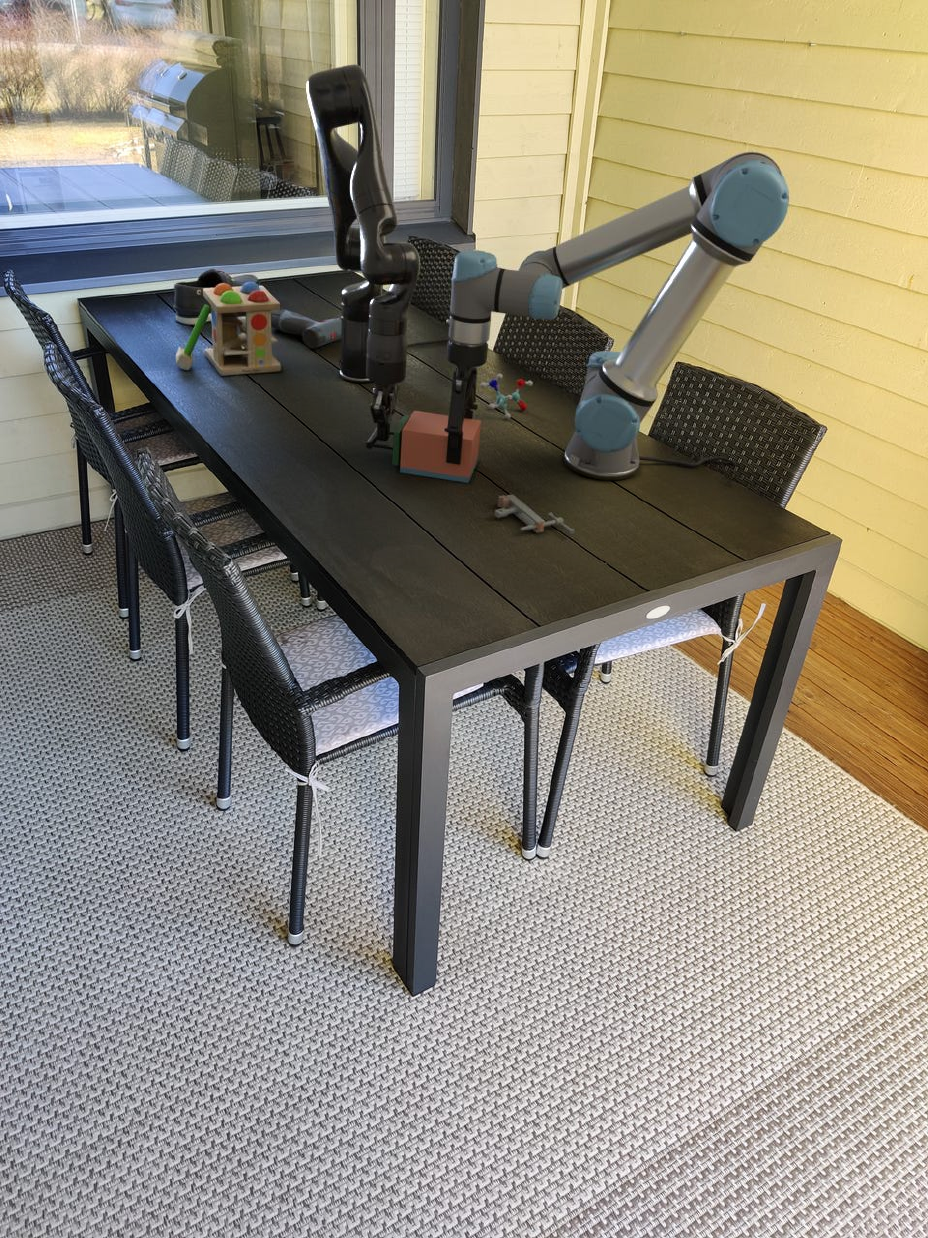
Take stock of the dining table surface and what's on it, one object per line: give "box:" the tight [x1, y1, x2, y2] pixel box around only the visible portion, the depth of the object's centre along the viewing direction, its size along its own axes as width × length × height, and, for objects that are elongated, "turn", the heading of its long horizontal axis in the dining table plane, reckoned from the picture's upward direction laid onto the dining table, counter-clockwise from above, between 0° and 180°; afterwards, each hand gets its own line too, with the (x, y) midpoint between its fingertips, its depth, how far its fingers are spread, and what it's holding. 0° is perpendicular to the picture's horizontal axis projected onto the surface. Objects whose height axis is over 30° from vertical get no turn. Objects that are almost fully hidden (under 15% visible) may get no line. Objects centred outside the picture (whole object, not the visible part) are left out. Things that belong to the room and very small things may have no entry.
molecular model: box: [480, 373, 533, 420], centre depth 219 cm, size 12×10×10 cm
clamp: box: [494, 494, 575, 535], centre depth 178 cm, size 15×2×10 cm
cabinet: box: [399, 410, 482, 484], centre depth 192 cm, size 14×10×9 cm
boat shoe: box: [173, 268, 262, 325], centre depth 261 cm, size 13×33×10 cm, turn 147°
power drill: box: [271, 308, 341, 349], centre depth 252 cm, size 5×19×20 cm
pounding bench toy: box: [174, 282, 282, 377], centre depth 225 cm, size 23×14×18 cm, turn 116°
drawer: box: [365, 414, 411, 467], centre depth 193 cm, size 18×9×7 cm, turn 80°
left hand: (383, 439), depth 193 cm, fingers closed
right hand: (458, 451), depth 192 cm, fingers closed on cabinet, 10 cm apart
